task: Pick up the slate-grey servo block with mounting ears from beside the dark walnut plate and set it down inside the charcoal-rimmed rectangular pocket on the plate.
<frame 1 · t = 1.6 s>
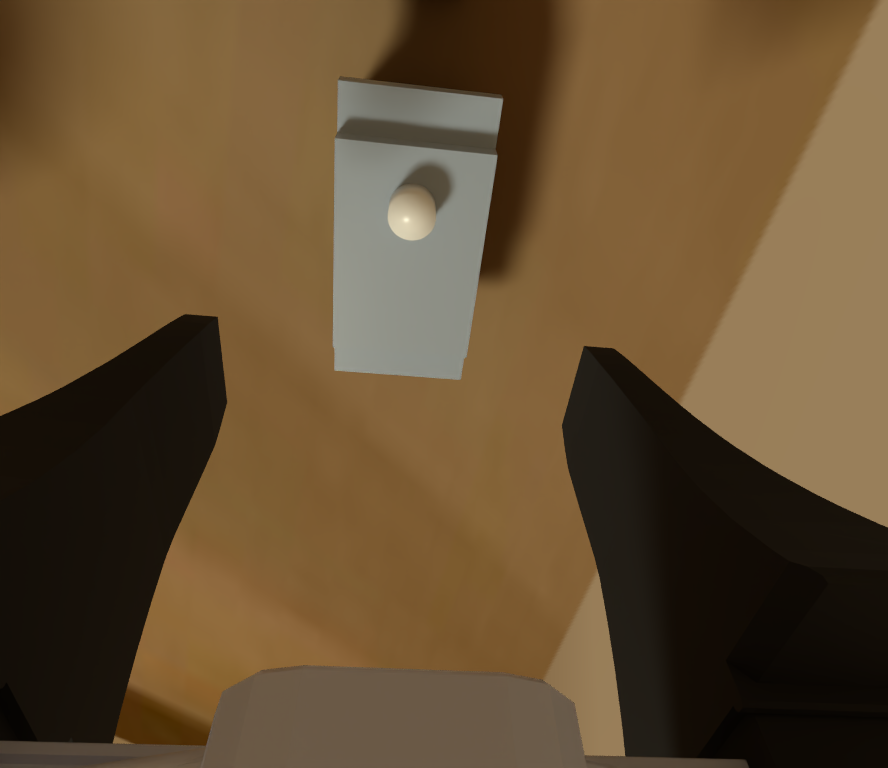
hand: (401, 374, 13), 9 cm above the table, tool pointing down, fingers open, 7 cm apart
servo block: (410, 208, 21), on the table
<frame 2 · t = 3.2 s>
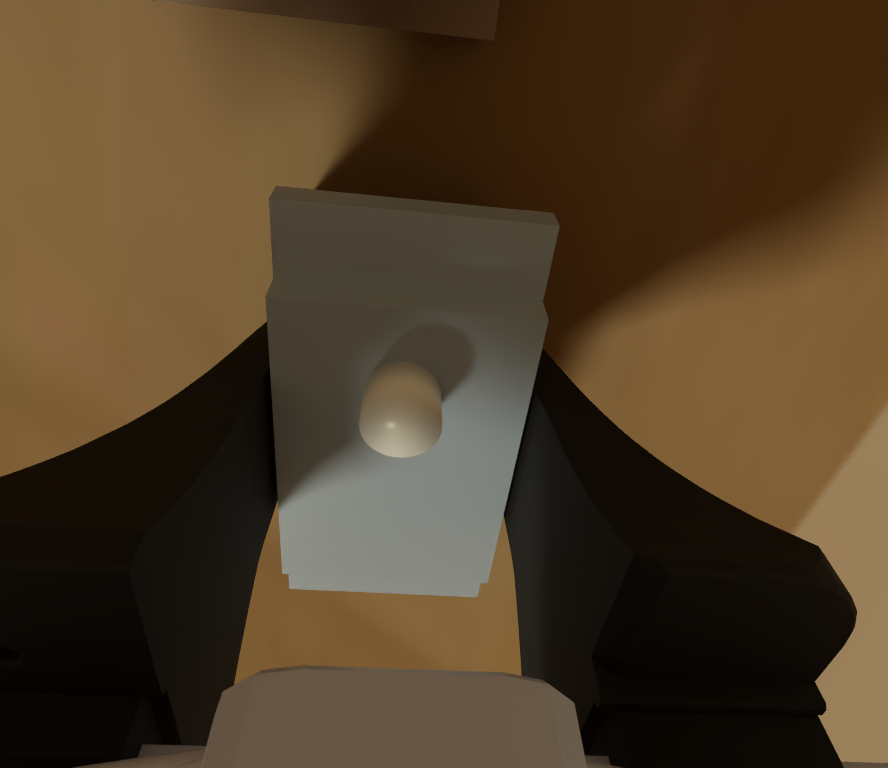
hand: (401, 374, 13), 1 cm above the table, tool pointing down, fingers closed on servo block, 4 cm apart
servo block: (402, 340, 14), on the table, touching gripper
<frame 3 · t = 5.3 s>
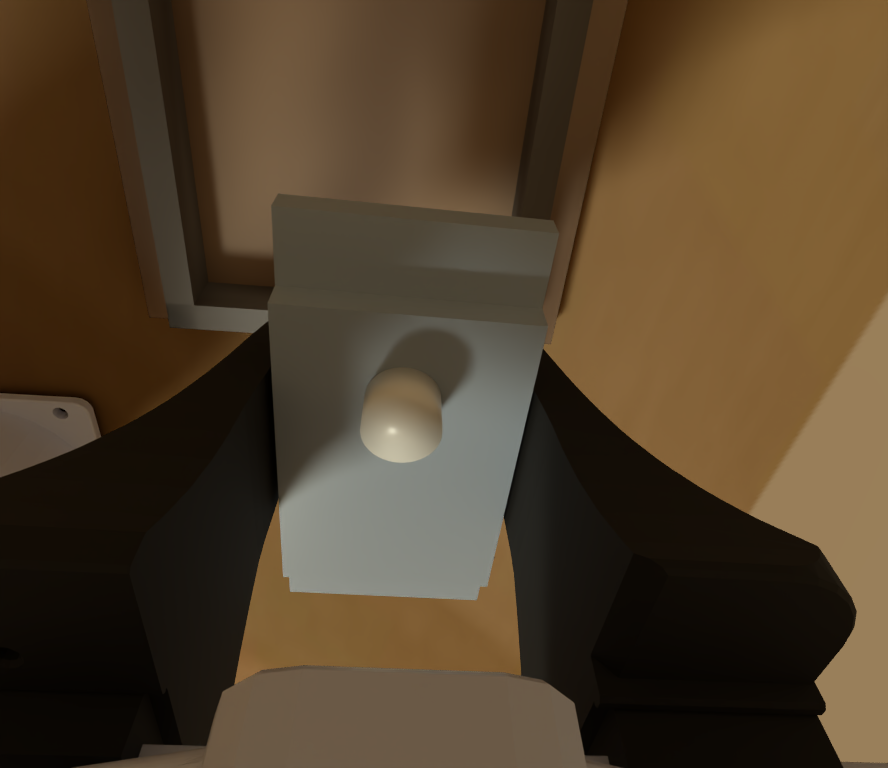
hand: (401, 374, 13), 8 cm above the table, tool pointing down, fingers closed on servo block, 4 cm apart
pocket plate: (361, 93, 17), on the table
servo block: (403, 344, 14), point 7 cm above the table, touching gripper
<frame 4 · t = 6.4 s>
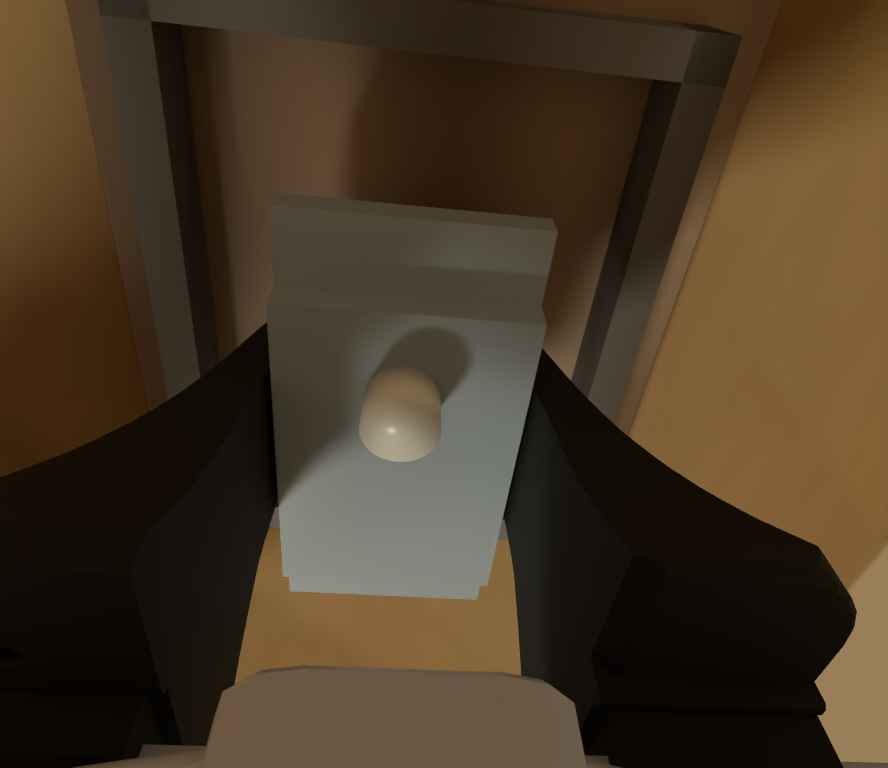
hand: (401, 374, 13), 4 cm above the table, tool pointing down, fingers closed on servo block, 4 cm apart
pocket plate: (405, 284, 16), on the table
servo block: (402, 344, 14), point 3 cm above the table, touching gripper
when the fingers open (3 cm above the table, at t = 7.3 s): servo block stays where it is, resting on pocket plate.
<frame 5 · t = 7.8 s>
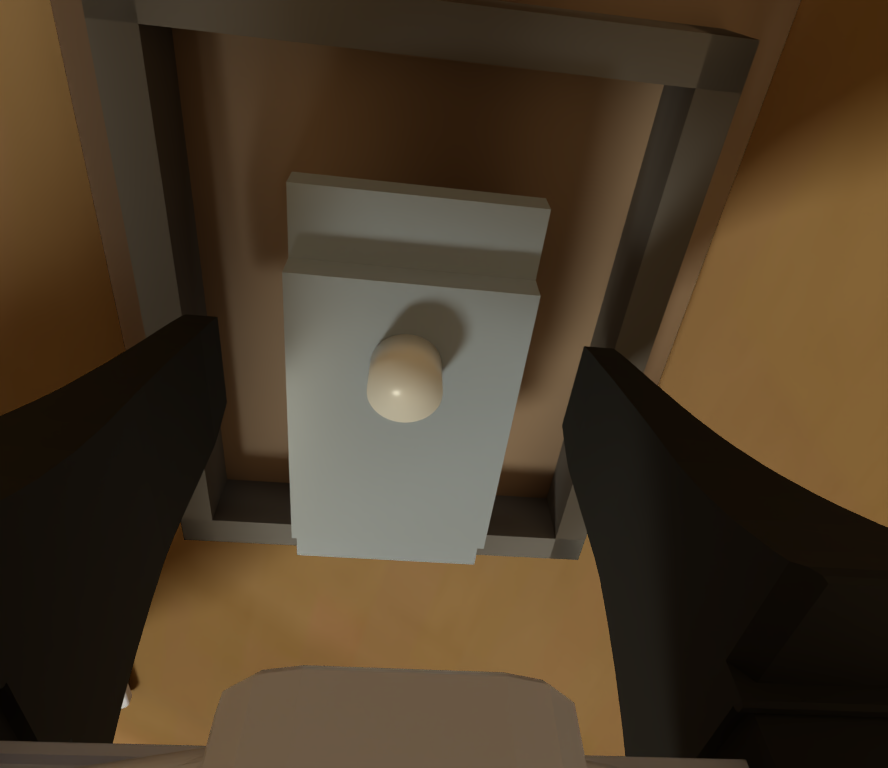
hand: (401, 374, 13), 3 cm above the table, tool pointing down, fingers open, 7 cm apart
pocket plate: (405, 295, 15), on the table
servo block: (404, 322, 15), point 1 cm above the table, touching pocket plate
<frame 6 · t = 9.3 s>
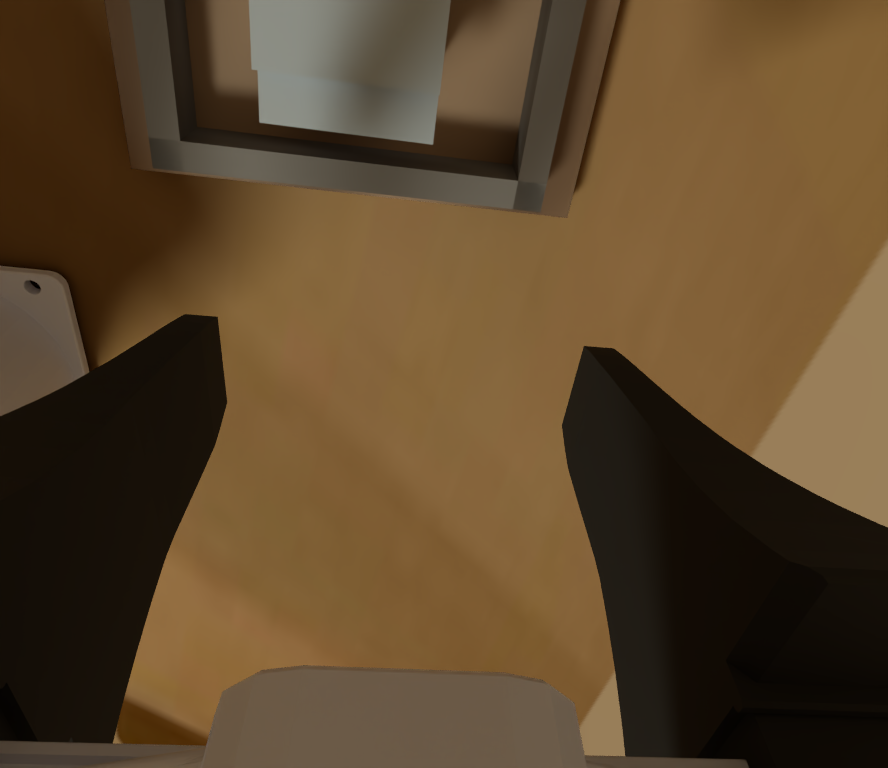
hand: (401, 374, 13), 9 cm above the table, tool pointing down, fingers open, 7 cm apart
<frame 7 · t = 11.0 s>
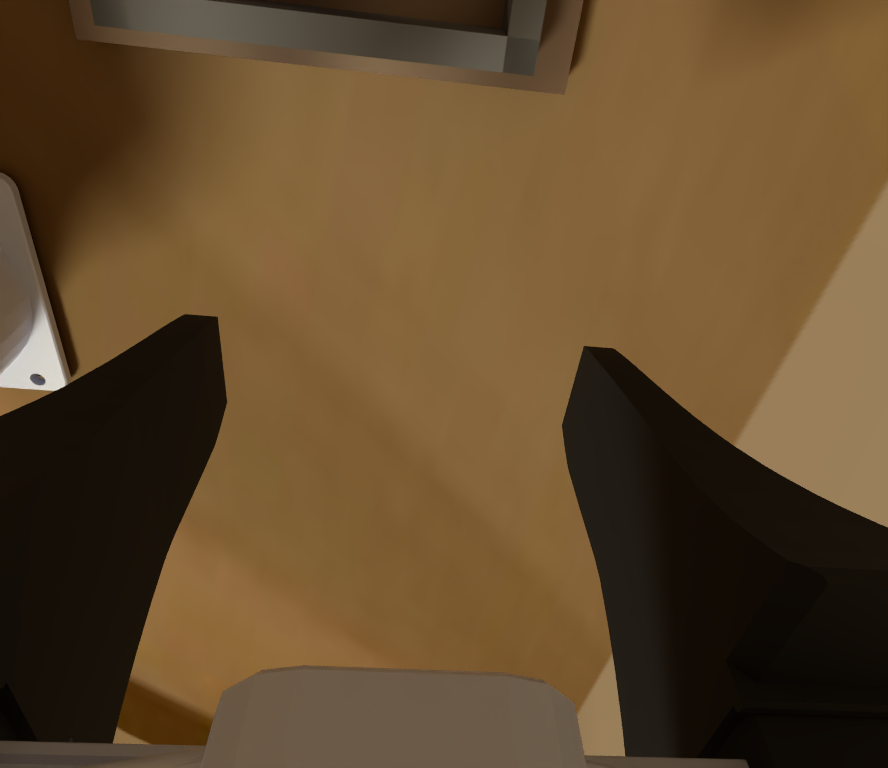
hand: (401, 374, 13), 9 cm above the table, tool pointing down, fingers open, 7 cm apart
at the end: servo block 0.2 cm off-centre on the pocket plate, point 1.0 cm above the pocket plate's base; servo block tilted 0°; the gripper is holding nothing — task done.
